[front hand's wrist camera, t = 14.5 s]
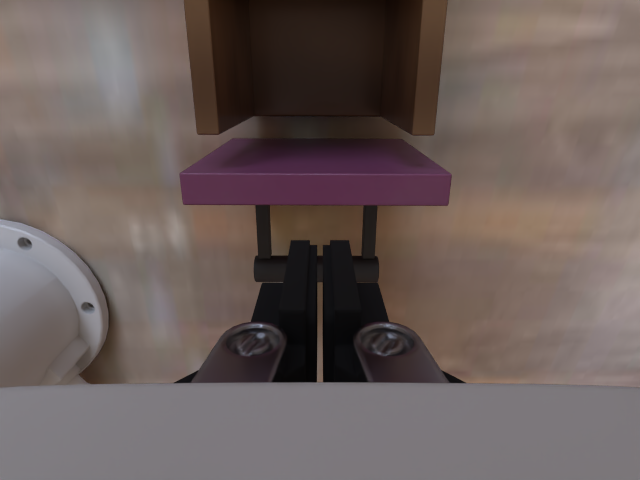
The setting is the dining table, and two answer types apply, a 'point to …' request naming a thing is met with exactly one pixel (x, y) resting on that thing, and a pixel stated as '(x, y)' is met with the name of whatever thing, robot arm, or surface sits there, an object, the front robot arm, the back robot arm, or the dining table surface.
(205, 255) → the dining table surface
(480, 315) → the dining table surface
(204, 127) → the drawer
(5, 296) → the front robot arm
